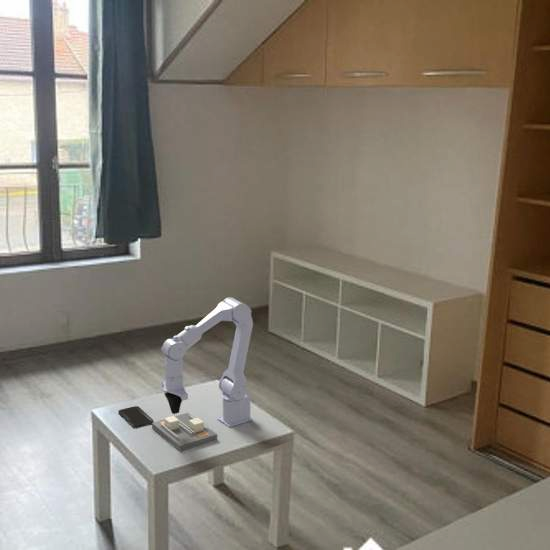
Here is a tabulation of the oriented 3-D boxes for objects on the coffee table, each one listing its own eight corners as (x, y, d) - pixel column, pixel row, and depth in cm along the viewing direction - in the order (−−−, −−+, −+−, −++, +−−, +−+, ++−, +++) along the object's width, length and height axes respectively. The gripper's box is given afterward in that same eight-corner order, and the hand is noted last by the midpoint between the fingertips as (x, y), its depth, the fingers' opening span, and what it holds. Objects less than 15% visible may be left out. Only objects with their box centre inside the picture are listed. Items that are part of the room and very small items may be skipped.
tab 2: (197, 425, 247) (197, 417, 246) (203, 430, 244) (203, 422, 243) (188, 428, 245) (188, 420, 244) (194, 432, 242) (194, 424, 241)
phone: (137, 405, 266) (154, 420, 253) (137, 408, 266) (154, 423, 254) (117, 410, 261) (133, 426, 249) (117, 413, 262) (133, 429, 250)
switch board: (187, 417, 258) (187, 410, 257) (217, 439, 242) (217, 431, 241) (152, 428, 250) (151, 420, 249) (180, 451, 234) (180, 443, 233)
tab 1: (173, 423, 248) (173, 415, 248) (179, 428, 245) (179, 419, 245) (164, 426, 246) (164, 418, 246) (170, 430, 243) (169, 422, 243)
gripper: (153, 370, 242) (154, 408, 246) (173, 384, 231) (175, 423, 234) (171, 366, 246) (172, 402, 250) (193, 379, 235) (194, 418, 239)
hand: (175, 412), depth 242 cm, fingers closed
